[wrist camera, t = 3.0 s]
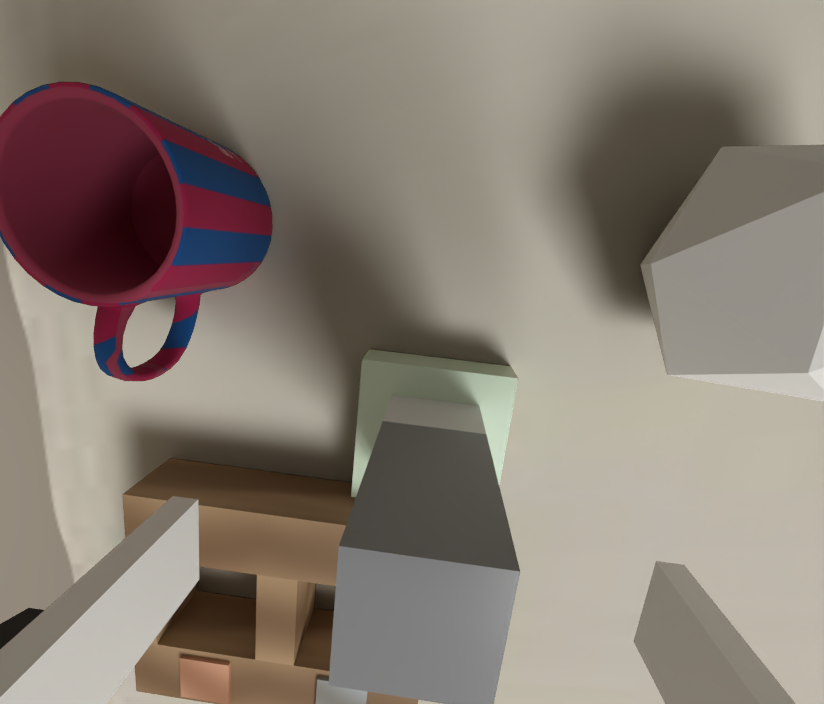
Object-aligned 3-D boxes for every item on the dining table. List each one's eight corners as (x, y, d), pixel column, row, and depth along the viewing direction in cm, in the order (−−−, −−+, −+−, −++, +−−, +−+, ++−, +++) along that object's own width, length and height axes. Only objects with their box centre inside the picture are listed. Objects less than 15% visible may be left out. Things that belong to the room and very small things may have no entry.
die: (626, 388, 21) (938, 490, 13) (549, 278, 16) (997, 333, 7) (704, 255, 22) (1037, 271, 14) (657, 109, 17) (1148, 0, 9)
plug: (391, 394, 19) (338, 546, 9) (479, 405, 19) (520, 571, 9) (384, 473, 20) (328, 685, 10) (467, 484, 20) (491, 711, 10)
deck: (369, 349, 20) (361, 359, 19) (510, 366, 20) (518, 378, 18) (358, 475, 22) (350, 496, 20) (489, 492, 22) (494, 516, 20)
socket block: (170, 458, 23) (119, 496, 19) (441, 494, 22) (441, 541, 18) (176, 633, 26) (133, 694, 22) (416, 669, 25) (412, 739, 21)
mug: (284, 162, 19) (199, 113, 12) (250, 366, 21) (164, 418, 15) (143, 124, 19) (-19, 55, 12) (125, 332, 21) (-18, 369, 15)
